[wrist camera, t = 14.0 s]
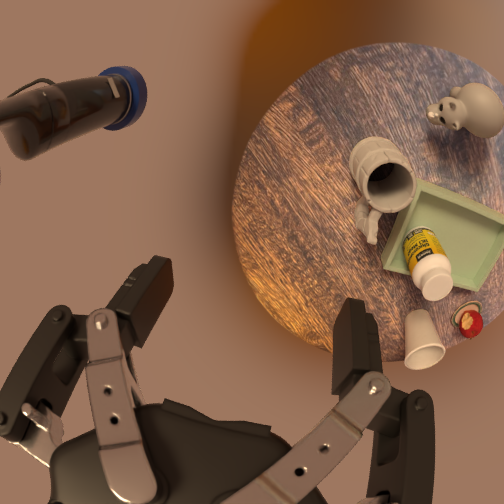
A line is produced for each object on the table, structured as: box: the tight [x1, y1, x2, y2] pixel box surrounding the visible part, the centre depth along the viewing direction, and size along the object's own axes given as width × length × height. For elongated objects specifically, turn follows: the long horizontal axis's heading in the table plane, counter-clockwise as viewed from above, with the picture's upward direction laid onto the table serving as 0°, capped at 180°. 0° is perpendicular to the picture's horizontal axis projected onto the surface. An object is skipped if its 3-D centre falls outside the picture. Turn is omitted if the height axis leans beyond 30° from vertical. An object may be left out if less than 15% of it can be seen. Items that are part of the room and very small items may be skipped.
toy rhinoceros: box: [426, 83, 504, 138], centre depth 22 cm, size 7×12×8 cm, turn 111°
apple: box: [452, 301, 483, 339], centre depth 41 cm, size 8×8×6 cm
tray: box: [380, 178, 504, 292], centre depth 35 cm, size 22×15×3 cm
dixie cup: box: [404, 309, 445, 370], centre depth 43 cm, size 8×8×10 cm
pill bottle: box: [402, 226, 453, 301], centre depth 33 cm, size 6×6×11 cm
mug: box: [349, 137, 417, 245], centre depth 30 cm, size 8×12×12 cm, turn 168°
